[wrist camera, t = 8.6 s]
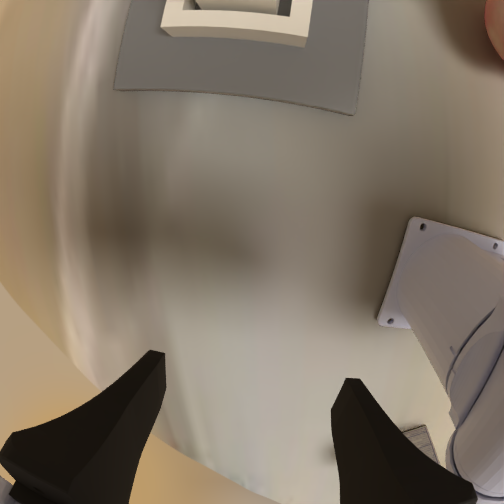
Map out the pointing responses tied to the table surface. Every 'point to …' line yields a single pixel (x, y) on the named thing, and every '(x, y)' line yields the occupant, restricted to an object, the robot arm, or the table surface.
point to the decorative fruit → (495, 24)
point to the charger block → (241, 5)
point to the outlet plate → (247, 51)
